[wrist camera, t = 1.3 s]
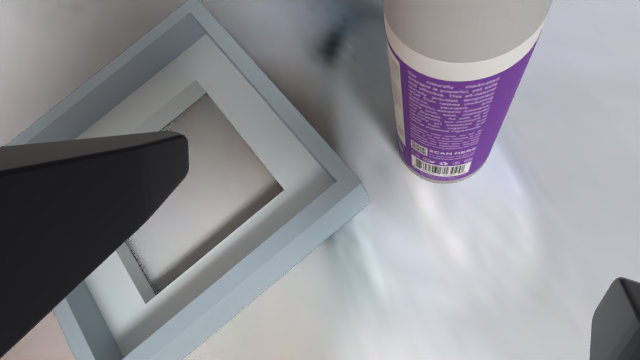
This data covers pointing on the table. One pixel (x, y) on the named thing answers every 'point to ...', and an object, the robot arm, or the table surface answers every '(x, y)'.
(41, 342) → the table surface
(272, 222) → the walled box
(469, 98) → the container
